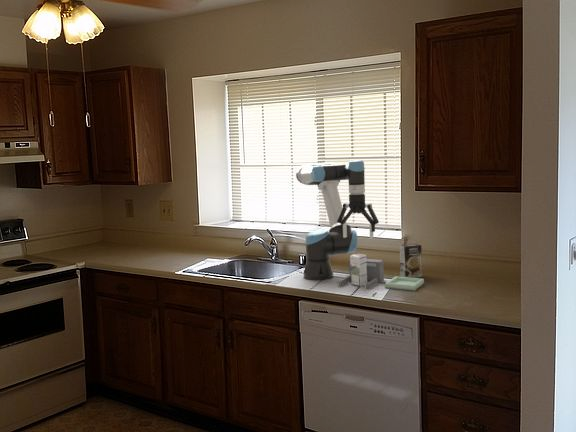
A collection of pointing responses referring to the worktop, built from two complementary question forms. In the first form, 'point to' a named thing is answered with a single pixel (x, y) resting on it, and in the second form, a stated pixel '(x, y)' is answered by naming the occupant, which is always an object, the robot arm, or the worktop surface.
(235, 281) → the worktop surface
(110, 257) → the worktop surface
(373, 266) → the bay
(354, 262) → the syrup box
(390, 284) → the tray
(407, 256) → the coffee box
